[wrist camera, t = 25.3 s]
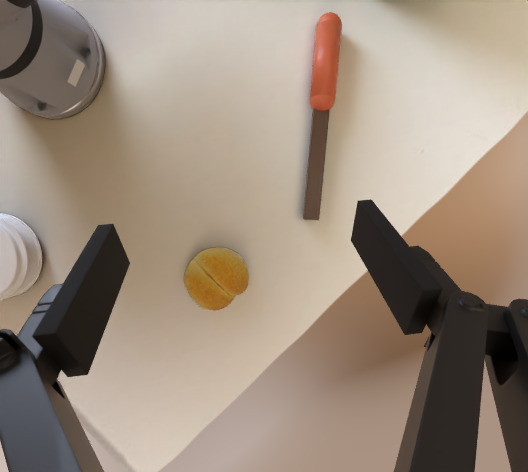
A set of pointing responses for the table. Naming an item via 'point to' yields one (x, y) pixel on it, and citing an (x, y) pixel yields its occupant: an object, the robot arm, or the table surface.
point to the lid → (17, 257)
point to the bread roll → (216, 277)
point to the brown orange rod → (321, 106)
